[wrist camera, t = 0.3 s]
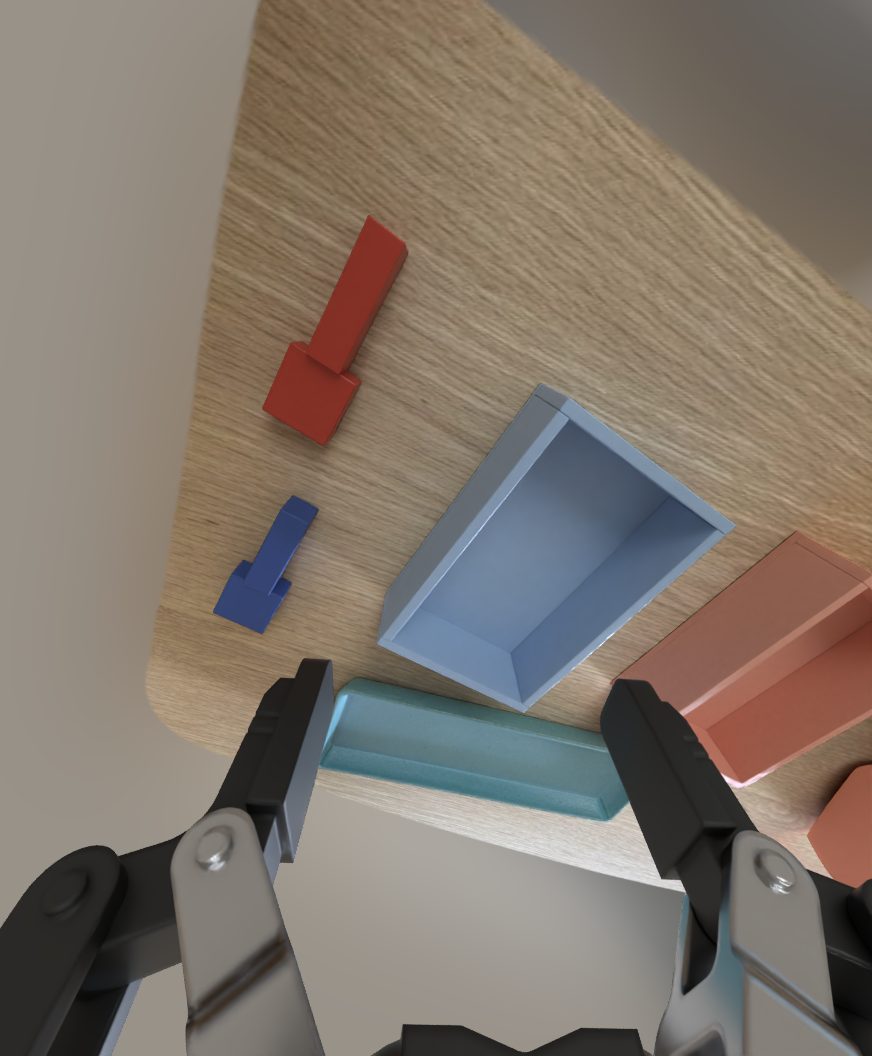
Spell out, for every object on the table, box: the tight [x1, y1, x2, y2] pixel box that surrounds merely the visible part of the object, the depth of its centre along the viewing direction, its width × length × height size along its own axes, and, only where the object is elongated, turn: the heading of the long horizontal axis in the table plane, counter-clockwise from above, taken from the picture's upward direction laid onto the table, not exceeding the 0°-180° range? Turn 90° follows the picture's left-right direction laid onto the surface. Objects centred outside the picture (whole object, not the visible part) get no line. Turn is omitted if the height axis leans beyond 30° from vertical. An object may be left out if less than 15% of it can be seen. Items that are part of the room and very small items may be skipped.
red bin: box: [611, 531, 872, 789], centre depth 25 cm, size 15×10×4 cm
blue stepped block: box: [213, 495, 318, 634], centre depth 22 cm, size 9×3×2 cm, turn 147°
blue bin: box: [376, 383, 736, 713], centre depth 21 cm, size 15×10×4 cm
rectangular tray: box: [318, 678, 630, 822], centre depth 30 cm, size 26×9×2 cm, turn 70°
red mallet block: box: [262, 215, 408, 446], centre depth 17 cm, size 9×3×2 cm, turn 147°
